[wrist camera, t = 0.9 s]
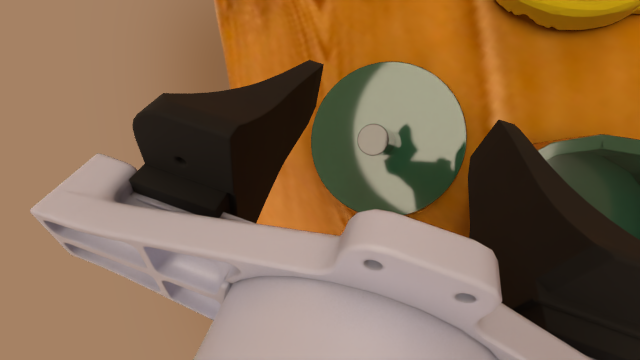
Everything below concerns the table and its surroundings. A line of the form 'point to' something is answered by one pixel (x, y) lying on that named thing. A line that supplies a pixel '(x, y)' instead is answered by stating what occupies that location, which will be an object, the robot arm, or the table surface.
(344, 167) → the lid
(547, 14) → the door knocker
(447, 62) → the table surface
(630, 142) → the pot
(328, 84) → the table surface
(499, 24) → the table surface
